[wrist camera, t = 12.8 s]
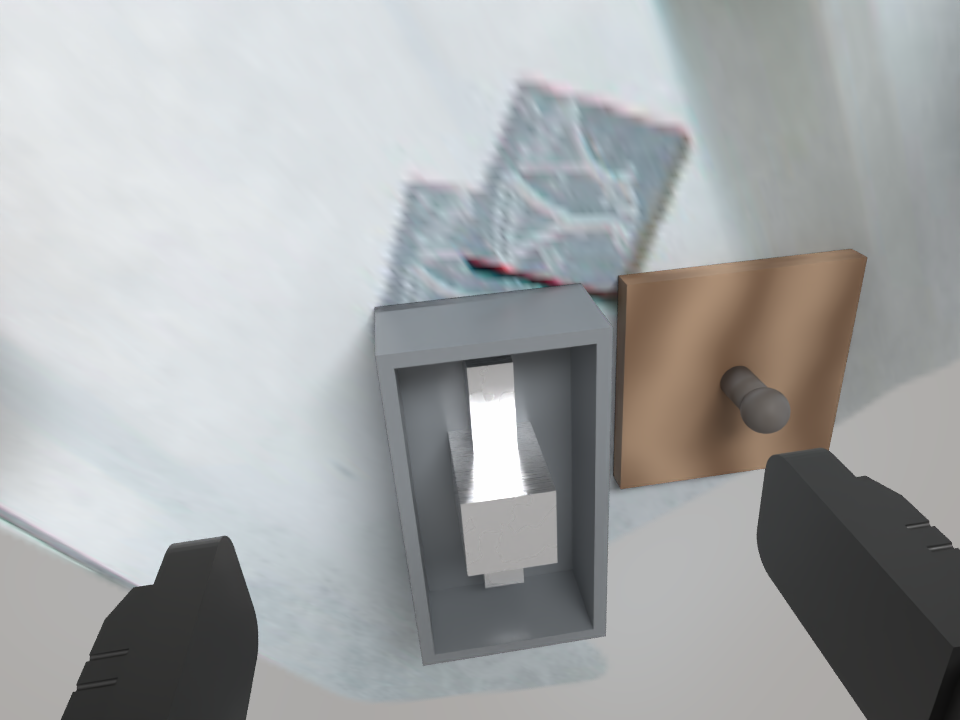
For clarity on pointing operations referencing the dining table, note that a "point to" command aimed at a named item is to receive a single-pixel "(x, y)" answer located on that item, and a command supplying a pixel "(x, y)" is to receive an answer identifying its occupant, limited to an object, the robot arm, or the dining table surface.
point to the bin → (560, 434)
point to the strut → (500, 480)
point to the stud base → (730, 363)
